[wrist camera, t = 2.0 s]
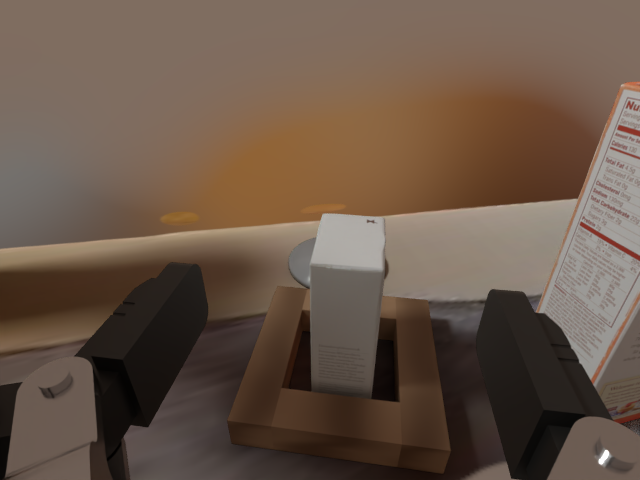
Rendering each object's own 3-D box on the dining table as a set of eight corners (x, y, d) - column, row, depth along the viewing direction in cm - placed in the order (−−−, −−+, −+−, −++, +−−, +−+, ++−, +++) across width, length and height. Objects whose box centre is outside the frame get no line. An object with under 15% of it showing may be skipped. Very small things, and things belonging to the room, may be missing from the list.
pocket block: (231, 443, 24) (227, 420, 23) (278, 306, 35) (277, 286, 34) (443, 473, 23) (450, 450, 22) (423, 321, 34) (427, 300, 33)
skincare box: (320, 339, 32) (322, 210, 26) (372, 345, 31) (387, 215, 25) (308, 404, 27) (307, 262, 20) (370, 412, 26) (388, 269, 20)
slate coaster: (279, 289, 37) (279, 284, 37) (298, 236, 46) (298, 232, 46) (383, 298, 36) (383, 294, 36) (383, 243, 45) (383, 238, 44)
